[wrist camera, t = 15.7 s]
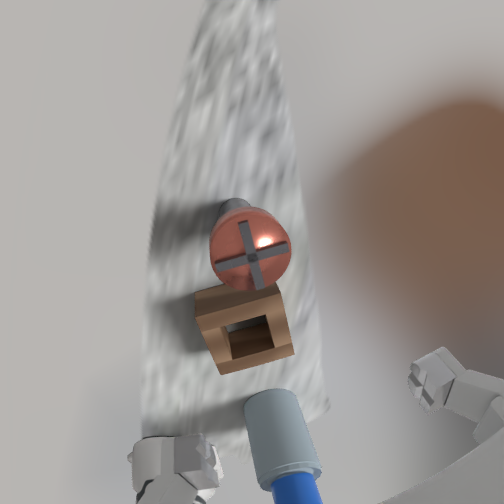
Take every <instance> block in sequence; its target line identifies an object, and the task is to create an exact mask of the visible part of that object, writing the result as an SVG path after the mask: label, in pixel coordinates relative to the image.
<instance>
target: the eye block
mask: <svg viewBox="0 0 504 504" xmlns="http://www.w3.org/2000/svg"><path fill="white" fill-rule="evenodd" d="M261 315H265V319H266V323H262V324H259V325H255V326H252V327H248V328H245V329H241V330H238V331H234V332H231V333H228V331H227V329H226V325H230V324H233V323H237V322H240V321H244V320H247V319H251V318H254V317H258V316H261ZM195 319H196V322H197V324H198V326H199V329H200V331H201V333H202V335H203V338H204V340H205V342H206V344H207V347H208V349H209V351H210V353H211V355H212V357H213V360H214V362H215V364H216V366H217V368H218V370H219V372H220V374H221V375H224V374H228V373H232V372H235V371H239V370H243V369H247V368H250V367H254V366H258V365H261V364H265V363H268V362H271V361H275V360H278V359H281V358H285V357H288V356H291V355H294V349H293V345H292V340H291V336H290V332H289V327H288V323H287V318H286V314H285V309H284V305H283V301H282V296H281V292H280V290H279V288H278V286H277V284H276V282H274V283H273V284H271V285H269V286H267V287H265V288H263V289H260V290H253V291H243V290H238V289H234V288H232V287H230V286H228V285H226V284H223V285H219V286H216V287H212V288H208V289H205V290H201V291H198V292H195Z"/></svg>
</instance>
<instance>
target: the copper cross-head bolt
mask: <svg viewBox="0 0 504 504" xmlns="http://www.w3.org/2000/svg"><path fill="white" fill-rule="evenodd" d="M209 249H210V260H211V265H212V268H213V270H214V272H215V274H216V275H217V277H218V278H219V279H220V280H221V281H222V282H223V283H225V284H226V285H228V286H230V287H232V288H234V289H238V290H243V291H253V290H260V289H263V288H265V287H267V286H269V285H271V284H273V283H274V282H275V281H277V280H278V279H279V278H280V277H281V276H282V275H283V273H284V272H285V270H286V269H287V267H288V265H289V262H290V258H291V243H290V239H289V237H288V235H287V233H286V232H285V230H284V229H283V227H282V226H281V225H280V224H279V222H278V221H277V220H276V219H275V217H274V216H272V215H271V214H270V213H269V212H267V211H265V210H263V209H260V208H257V207H251V205H250V204H249V203H248V202H247V201H245V200H243V199H240V198H233V199H230V200H228V201H226V202H225V203H224V204H223V205H222V206H221V208H220V210H219V220H218V221H217V222H216V224H215V225H214V227H213V229H212V231H211V234H210V239H209Z"/></svg>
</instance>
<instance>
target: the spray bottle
mask: <svg viewBox="0 0 504 504" xmlns="http://www.w3.org/2000/svg"><path fill="white" fill-rule="evenodd" d="M244 415H245V420H246V426H247V431H248V436H249V441H250V446H251V451H252V456H253V461H254V466H255V471H256V476H257V481H258V483H259V484H260V487H261V488H262V489H263V490H265V491H269V492H272V495H273V499H274V503H275V504H323V503H322V500H321V497H320V494H319V491H318V488H317V485H316V482H315V480H316V479H317V478H319V477H320V475H321V473H322V472H321V465H320V462H319V459H318V456H317V453H316V451H315V448H314V445H313V442H312V439H311V437H310V434H309V431H308V428H307V425H306V422H305V420H304V417H303V414H302V411H301V408H300V406H299V403H298V400H297V397H296V395H295V394H294V393H293V392H291V391H288V390H285V389H270V390H266V391H263V392H259V393H257V394H256V395H254V396H252V397H251V398H250V399H249V400H248V401H247V402H246V403H245V405H244Z"/></svg>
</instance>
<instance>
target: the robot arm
mask: <svg viewBox="0 0 504 504" xmlns="http://www.w3.org/2000/svg"><path fill="white" fill-rule="evenodd" d="M410 370H411V371H412V372H411V374H410V375H409V377H408V385H409V388H410V391H411V393H412V394H413V396H415V397H417V398H420V406H421V407H422V408H423V410H424V411H425V413H426V414H427V415H429V414H431V413H433V412H435V411H436V410H438V409H440V408H442V407H445V408H447V409H449V410H451V411H453V412H456V413H458V414H460V415H462V416H464V417H466V418H468V419H470V420H473V421H475V422H477V423H479V424H478V425H477V427H476V429H475V431H474V433H473V437H474V438H475V440H476V441H477V443H478V444H479V446H478V447H476V448H475V449H474V450H472V451H471V452H469V453H468V454H467V455H465V456H464V457H462V458H461V459H459V460H458V461H456V462H455V463H453V464H452V465H450V466H448V467H447V468H445V469H444V470H442V471H440V472H439V473H437V474H436V475H434V476H432V477H430V478H429V479H427V480H425V481H423V482H421V483H419V484H418V485H416V486H414V487H412V488H410V489H408V490H406V491H404V492H402V493H400V494H398V495H396V496H394V497H392V498H390V499H388V500H385V501H383V502H381V503H379V504H504V379H500V378H497V377H493V376H489V375H486V374H483V373H479V372H476V371H472V370H468V371H466V370H465V368H464V367H463V366H462V365H461V364H460V363H459V362H458V361H457V360H456V359H455V358H454V356H452V354H451V353H450V352H449V351H448V350H447V349H446V348H444V347H441V348H439V349H437V350H436V351H434V352H431V353H430V354H427V355H426V356H424V357H422V358H420V359H418V360H416V361H414V362H413V363H412V364H411V366H410ZM128 461H129V462H131V463H132V486H133V489H134V490H135V491H136V492H137V493H138V494H137V496H136V504H206V501H207V500H208V499H209V498H210V497H211V496H213V495H214V493H215V488H217V487H219V486H220V480H219V479H221V478H223V477H224V476H223V470H222V467H221V464H220V461H219V457H218V454H217V451H216V448H215V447H214V446H212V445H211V444H210V443H209V442H206V441H205V436H204V435H203V434H202V433H198V434H192V435H186V436H179V437H152V438H146V439H143V440H140V441H139V442H137V443H136V444H135V445H134V447H133V452H132V453H130V454H129V455H128Z"/></svg>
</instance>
